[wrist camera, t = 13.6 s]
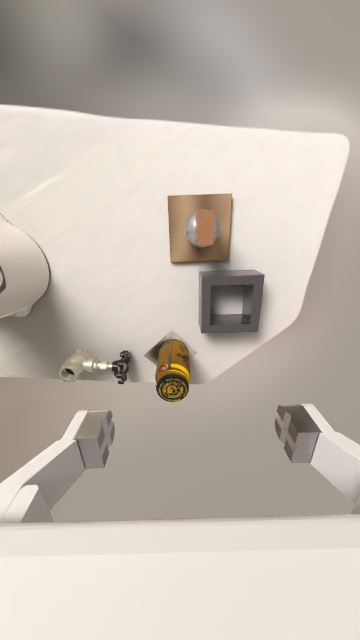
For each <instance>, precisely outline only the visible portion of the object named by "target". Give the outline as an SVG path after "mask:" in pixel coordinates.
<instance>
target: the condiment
mask: <svg viewBox="0 0 360 640" xmlns="http://www.w3.org/2000/svg"><path fill="white" fill-rule="evenodd" d="M194 354H196V352H195V351H194V350H193V349H192V348H191V347H190V346H189V345H188V344H187V343H186V342H185V341H184V340H183V339H182V338H181V337H179V336H178V335H177V334H176V333H175V332H174V331H173V330H172V331H171V332H170V333H169V334H168V335H167V336H165V337H164V338H163V339H162V340H161V341H160V342H159V343H158V344H157V345H155V346H154V347H153V348H152V349H151V350H150V351H149V352H148V353H146V354H145V355H144V356H145V357H146V358H148V359H149V360H150V361H151V362H153V363H154V364H155V365H156V366H157V370H156V376H155V378H156V382H157V385H156V390H157V392H158V395H159V396H160V397H161V398H162V399H164V400H166V401H170V402H176V401H180V400H182V399H183V398H184V397H185V396H186V395H187V393H188V390H189V382H190V369H189V358H191V357H192V356H193V355H194Z"/></svg>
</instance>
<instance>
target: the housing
mask: <svg viewBox="0 0 360 640" xmlns="http://www.w3.org/2000/svg"><path fill="white" fill-rule="evenodd" d="M263 283H264V274H262V273H260V272H258V271H255V270H235V271H203V272H199V325H200V330H201V333H228V332H258V326H259V317H260V309H261V300H262V292H263ZM218 285H245V286H244V298H243V310H242V314H228V315H210V303H211V286H218Z"/></svg>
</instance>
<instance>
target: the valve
mask: <svg viewBox="0 0 360 640" xmlns="http://www.w3.org/2000/svg"><path fill="white" fill-rule="evenodd" d="M128 353H129V352H128V351H123V352H121V353H120V357H122V359H121V360H118V361H113V363H112V364H109V362H108V361H101V363H99V361H97V359H96V358H92V357H91V355H90V353H89V352H88V351H87V349H76V350H75V352H74V353H73V354H71V355H70V356H68V357H67V358H66V360H65V361H64V364H63V365H62V366H61V368H60V370H59V372H58V375H59V376H60V378H61V379H62V380H64V381H67V382H73V381H75V380H76V379H77V377H78V376H79V374H81V373H83V372H84V371H87V372H88V373H94V372H95V370H98V368H99V369H100V370H101V371H107V370H108V369H112V371H114V375H115V376H116V377H117V378H121V380H118V383H119V384H124V381H126V380H127V376H126V374H127V372H128V371H129V367H128V362H129V357H128ZM117 372H120V373H117Z"/></svg>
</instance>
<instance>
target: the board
mask: <svg viewBox="0 0 360 640" xmlns="http://www.w3.org/2000/svg"><path fill="white" fill-rule="evenodd" d="M231 201H232V194H207V195H178V196H168V213H169V235H170V257H171V262H182V261H212V260H228V257H229V238H230V219H231ZM200 209H206V210H214V214H215V215H216V216H217V218H218V220H219V223H220V232H219V235H218V237H217V239H216V240H215V242H214V243H213V245H209V246H207V247H197V246H194V245H193V244H191V243H190V242H189V241H188V240H187V239H186V237H185V234H184V226H185V223H186V221H187V219H188V217H189V216H190V215H191V214H192V213H193V212H195V211H197V210H200Z"/></svg>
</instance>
